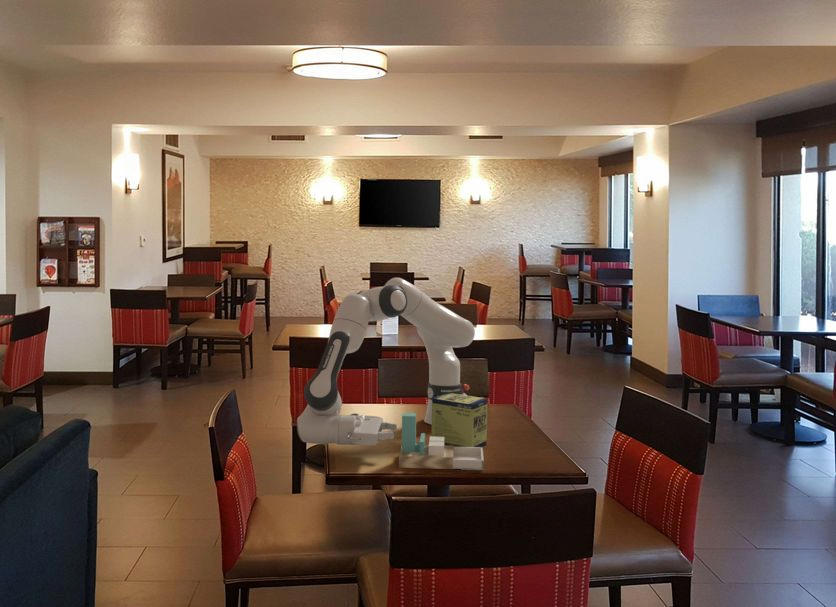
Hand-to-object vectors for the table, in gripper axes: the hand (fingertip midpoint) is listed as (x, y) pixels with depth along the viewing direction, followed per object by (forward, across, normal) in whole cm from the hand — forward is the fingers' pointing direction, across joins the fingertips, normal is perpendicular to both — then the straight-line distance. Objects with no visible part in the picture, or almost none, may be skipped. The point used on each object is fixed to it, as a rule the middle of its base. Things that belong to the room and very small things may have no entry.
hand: (395, 431), depth 255 cm
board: (+10, 0, +9) cm, 13 cm away
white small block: (+13, -3, +6) cm, 14 cm away
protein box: (+19, +20, +10) cm, 30 cm away
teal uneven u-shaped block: (+5, 0, +6) cm, 8 cm away
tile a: (+13, +3, +6) cm, 14 cm away
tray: (+22, 0, +9) cm, 24 cm away
